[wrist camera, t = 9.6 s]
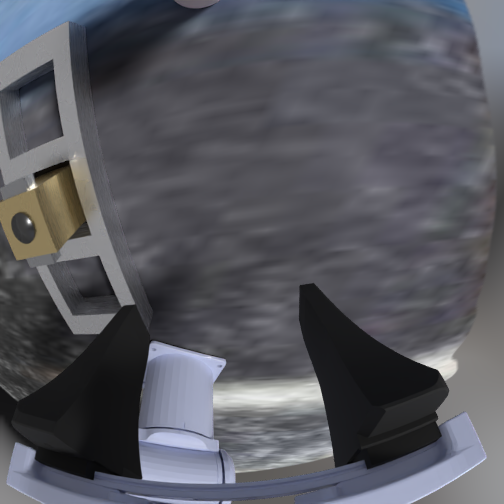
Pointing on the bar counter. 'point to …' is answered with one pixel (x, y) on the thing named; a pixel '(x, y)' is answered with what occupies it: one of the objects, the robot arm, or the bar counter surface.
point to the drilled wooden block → (41, 215)
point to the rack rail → (84, 172)
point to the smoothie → (196, 3)
